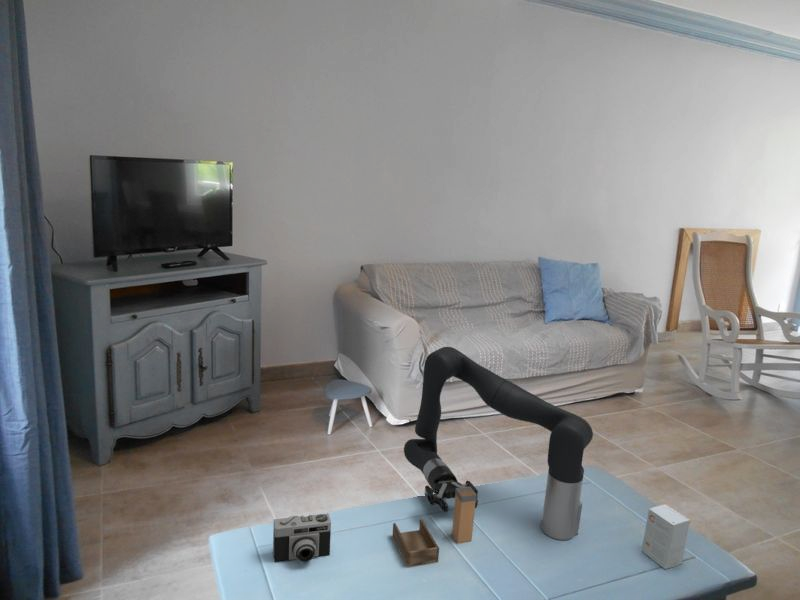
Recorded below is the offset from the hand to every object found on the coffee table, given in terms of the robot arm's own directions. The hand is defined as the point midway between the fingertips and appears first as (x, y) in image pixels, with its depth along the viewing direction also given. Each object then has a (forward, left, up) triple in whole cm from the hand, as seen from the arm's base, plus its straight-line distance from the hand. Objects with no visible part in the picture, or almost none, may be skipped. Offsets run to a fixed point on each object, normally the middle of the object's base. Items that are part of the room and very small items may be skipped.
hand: (461, 507), depth 163 cm
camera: (+43, +1, -8) cm, 44 cm away
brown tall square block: (0, +2, -8) cm, 8 cm away
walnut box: (+14, +4, -8) cm, 17 cm away
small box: (-49, +22, -8) cm, 54 cm away
